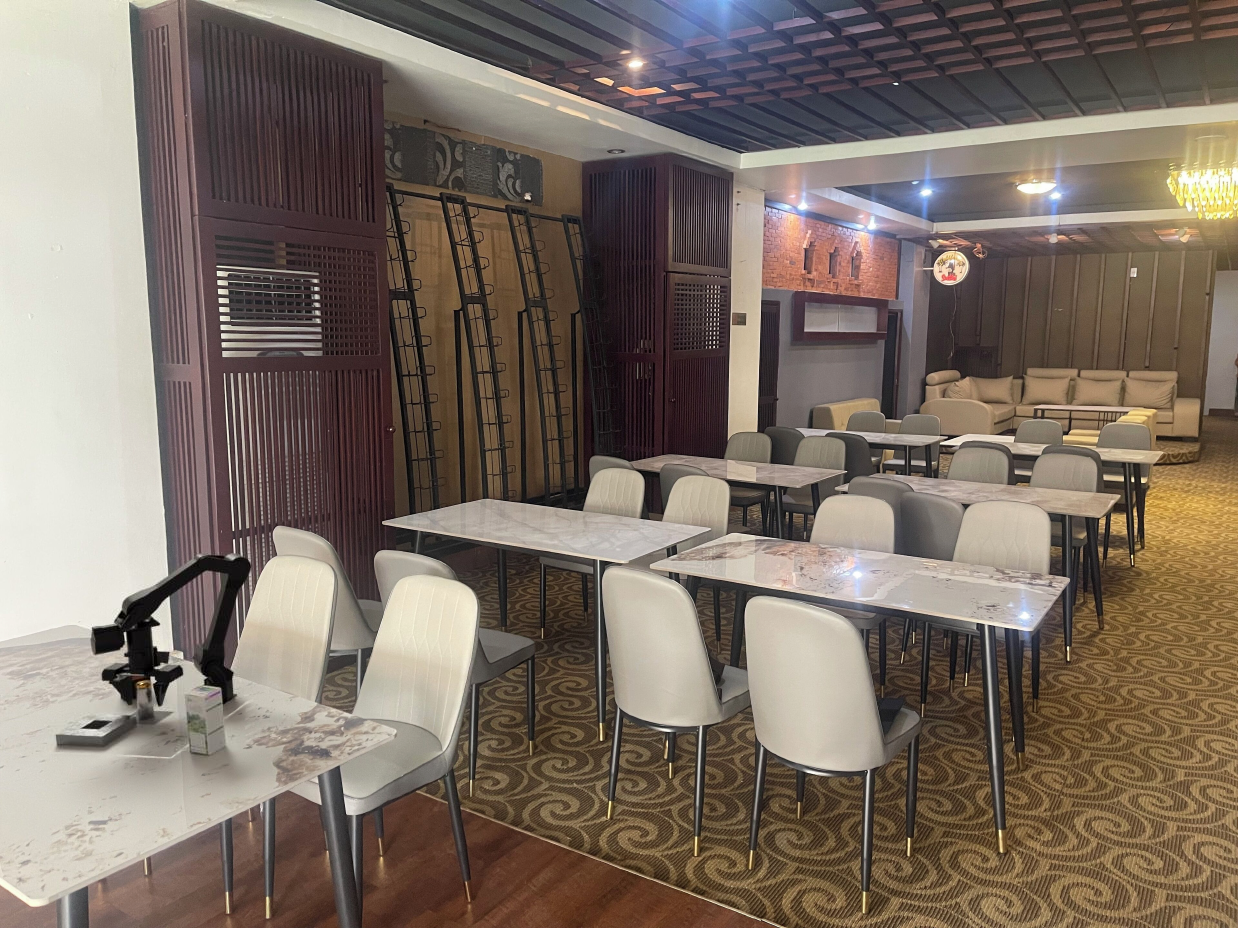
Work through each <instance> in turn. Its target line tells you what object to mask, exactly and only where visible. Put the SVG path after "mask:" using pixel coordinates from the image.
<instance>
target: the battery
mask: <svg viewBox="0 0 1238 928" xmlns="http://www.w3.org/2000/svg"><path fill="white" fill-rule="evenodd" d="M127 663H128V662H127ZM128 664H129V663H128ZM146 680H148V681H151V682H152V678H151V677H144V676H133V679H132V682H131V686H132V697H133V700H132V701H134V700H137V699H136V688H135V684H136V683H137V682H140V681H146ZM119 696H120V699H121V700H122V701H124V702H125V700H124V699H123V697H122V696H121V695H119Z"/></svg>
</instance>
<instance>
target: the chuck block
mask: <svg viewBox="0 0 1238 928" xmlns="http://www.w3.org/2000/svg"><path fill="white" fill-rule="evenodd" d="M137 726H138V724H137V720H136V716H134V715H131V714H129V715H128V714H110V713H109V714H101V713H90V714H89V715H87V716H85V717H84V718H82V719H80V720H78V721H77V722H75V723H73V724H71V725H69V726H67V727H66V728H64V729H63V730H61V731H59V732H57V733H56V734H55V741H56V746H66V747H67V746H69V747H70V746H71V747H89V748H90V747H91V748H104V747H106V746H108V745H109V744H111V743H113V742H115V740H117V739H119V738H120V737H122V736H123V735H125V734H126V733H128V732H129V731H131V730H133V729H135V728H137Z"/></svg>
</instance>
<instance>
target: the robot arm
mask: <svg viewBox="0 0 1238 928" xmlns="http://www.w3.org/2000/svg"><path fill="white" fill-rule="evenodd" d="M251 571H252V563H251V561H250V560H249V559H248V558H247V557H245V556H242V555H241V554H239V553H234V552H233V553H228V554H227V555H222V554H206V553H198V554H196V555H195V556H194V557H192V559H190V560H189V561H187V562H186V563H184V564H183V565H182V566H180V567H178V569H175V570H174V571H173V572H171V573H170V574H169V575H166V577H164V578H163V579H162V580H160V581H159V582H157V583H156V584H153V585H152V586H150V587H147V588H144V589H140V590H139V591H137V592H135V593H133V594H130V595H129V596H127V597H126V598H124V600H123V601H122V604H121V610H120V611H119V612H118V615H117V616H116V617H115V619H114V620H113V623H111V624H107V625H97V626H92V627H91V634H90V635H91V636H90V645H91V650H92V654H93V656H97V655H103V654H107V653H114V652H117V651H121V649H123V648H124V646H125V645H126V649H127V651H126V652H124V653H123V657H124V658H127V659H128V661H127V662H124V663H123V662H114V663H113V664H111V665H109V666H107V667H105V668H104V669H103V670H102V671H101V673H100V675H101V681H102V682H108V684H109V685H112V686H113V688H114V689H115V690H116V691H117V692H118V693H119V694H120V695H121V696H122V697H123V699H124V700H125V701H124V700H123V701H124V702H125V703H126V704H127V705H128V706H132V705H133V701H134V700H133V697H132V686H131V682H132V679H133V676H144V677H152V678H154V681H156V682H153V683H152V690H153V692H154V698H155V701H156V704H157V706H158V707H162V706H163V704H164V702H165V698H166V694H167V691H168V689H169V686H170V684H171V683H173V682H174V681H175V680H178V679H180V678H181V677H183V676H184V668H183V666H181V665H180V664H169V660H170V654H171V653H170V651H167V650H165V651H162V650H159V651H158V646H157V645H154V643H153V631H152V628H154V627H159V626H161V623H160V622H159V621H158V620H157V619H155V618H154V616H152V615H153V614H154V613H155V612H156V611H157V610H159V608H160V606H161V605H162V604H163V603H164V602H165V601H166V599H167V598H169V597H171V596H172V595H173V594H175V593H176V592H178V591H179V590H180V589H182V588H183V587H185V586H186V585H187V584H188V585H189V583H190V582H193V580H195V579H197V578H198V577H199V576H201V575H202V574H203V573H205V572H215V573H219V576H220V590H219V593H218V596H217V600H216V603H215V607H214V610H213V614H212V618H211V621H210V625H209V629H208V633H207V636H206V638H205V640H204V641H203V643H202V644H199V643H196V645H195V651H194V654H193V656H192V657H191V659H192V660H193V665H194V668H195V669H196V670H197V671H198V672H199V673H200V674H201V675H202V676H204V677H205V678H204V679H203V684H202V685H204V686H211V687H218V688H221V693H222V705H226V704H227V703H228V702H230V701H231V700H233V699H235V698H236V697H237V696H238V694H237V693H234V683H233V681H234V680H233V678H234V674H235V672H234V671H233V670H232V669H231V668H230V667H228V666H227V665H226V664H225V662H226V661H225V659H226V650H225V641H226V637H227V635H228V631H229V626H230V624H231V620H232V616H233V612H234V609H235V606H236V601H237V597H238V593H239V592H240V589H242V587H243V586H244V584H245V583H246V581H247V580H248V577H249V574H250V573H251ZM125 637H126V638H125ZM125 639H126V640H125ZM128 663H129V664H128ZM161 664H165V665H164V666H162V667H160V666H161ZM157 667H160V668H157ZM120 695H119V696H120ZM121 696H120V697H121Z"/></svg>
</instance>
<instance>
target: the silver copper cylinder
mask: <svg viewBox="0 0 1238 928" xmlns="http://www.w3.org/2000/svg"><path fill="white" fill-rule="evenodd" d="M135 688H136V699H135V700H136V708H137V711H138V719H139V720H148V719H151V718H153V717H154V711H155V707H154V697H153V683H152V680H151V681H148V680H146V681H140V682H137V683H136V684H135Z"/></svg>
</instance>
